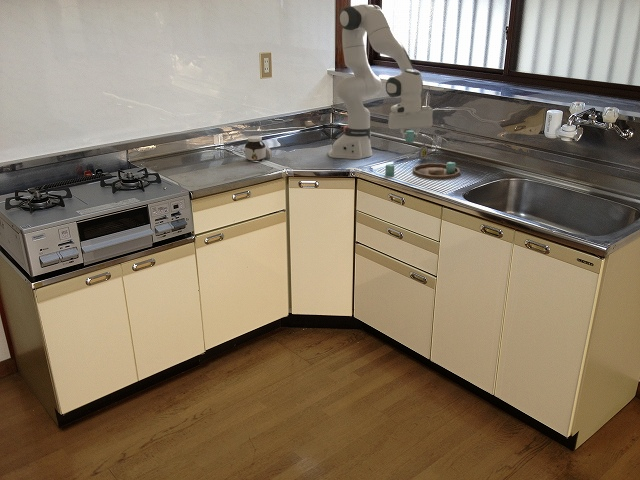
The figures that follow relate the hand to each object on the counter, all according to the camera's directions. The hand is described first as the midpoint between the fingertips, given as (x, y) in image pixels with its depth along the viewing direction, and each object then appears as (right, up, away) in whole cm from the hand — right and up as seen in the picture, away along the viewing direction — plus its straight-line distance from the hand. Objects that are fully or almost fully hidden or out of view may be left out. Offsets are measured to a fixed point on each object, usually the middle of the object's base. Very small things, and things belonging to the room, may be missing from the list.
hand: (410, 137), depth 284 cm
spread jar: (-72, -7, +27) cm, 77 cm away
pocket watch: (+11, -9, +20) cm, 24 cm away
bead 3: (+18, -16, 0) cm, 24 cm away
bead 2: (0, -2, +1) cm, 2 cm away
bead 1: (-9, -17, +1) cm, 19 cm away
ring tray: (+12, -17, +1) cm, 21 cm away
